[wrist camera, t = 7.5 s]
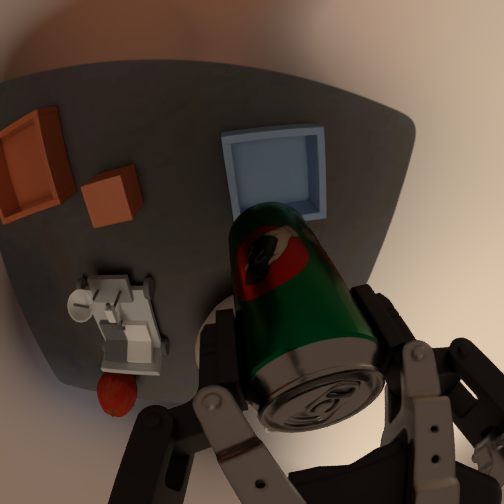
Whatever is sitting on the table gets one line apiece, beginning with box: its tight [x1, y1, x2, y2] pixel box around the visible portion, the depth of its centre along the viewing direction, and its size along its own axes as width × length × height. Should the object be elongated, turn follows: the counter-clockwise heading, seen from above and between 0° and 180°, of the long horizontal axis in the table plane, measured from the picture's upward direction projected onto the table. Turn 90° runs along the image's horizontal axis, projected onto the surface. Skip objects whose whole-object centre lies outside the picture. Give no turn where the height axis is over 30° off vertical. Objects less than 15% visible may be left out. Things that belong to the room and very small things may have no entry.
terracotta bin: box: [0, 106, 77, 225], centre depth 24 cm, size 12×12×5 cm
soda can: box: [229, 202, 385, 433], centre depth 13 cm, size 5×5×12 cm
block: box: [81, 164, 144, 228], centre depth 28 cm, size 5×5×5 cm
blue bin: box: [221, 123, 326, 221], centre depth 29 cm, size 10×10×5 cm
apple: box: [97, 372, 137, 417], centre depth 43 cm, size 8×8×11 cm
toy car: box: [68, 275, 169, 375], centre depth 35 cm, size 18×10×12 cm
